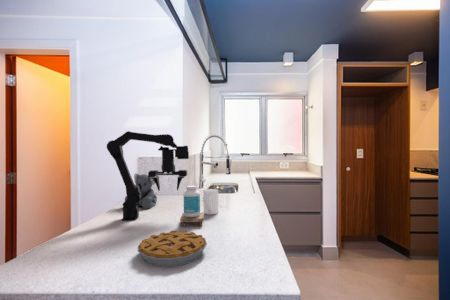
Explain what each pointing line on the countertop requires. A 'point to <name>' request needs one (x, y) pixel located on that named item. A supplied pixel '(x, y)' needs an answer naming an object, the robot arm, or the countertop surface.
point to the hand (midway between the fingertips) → (168, 190)
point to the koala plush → (145, 191)
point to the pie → (172, 248)
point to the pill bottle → (191, 202)
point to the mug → (210, 201)
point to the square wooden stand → (192, 219)
